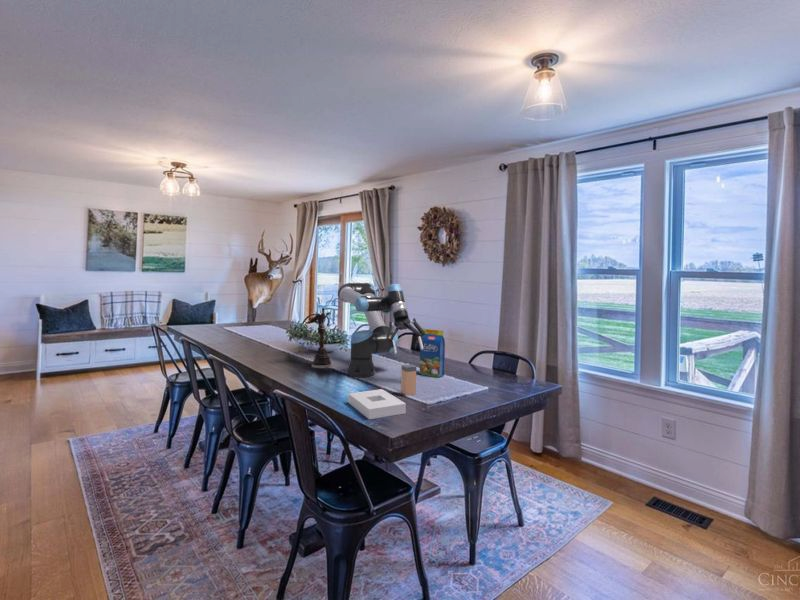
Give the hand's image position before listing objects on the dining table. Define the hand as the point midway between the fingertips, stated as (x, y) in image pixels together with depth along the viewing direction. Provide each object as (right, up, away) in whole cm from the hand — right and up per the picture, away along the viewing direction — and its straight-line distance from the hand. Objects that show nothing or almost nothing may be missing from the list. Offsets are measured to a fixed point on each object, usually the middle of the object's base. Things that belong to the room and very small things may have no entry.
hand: (409, 351), depth 207 cm
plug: (-1, -18, -12) cm, 22 cm away
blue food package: (+13, -16, +22) cm, 30 cm away
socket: (-14, -19, -33) cm, 41 cm away
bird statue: (-53, -13, +39) cm, 67 cm away
